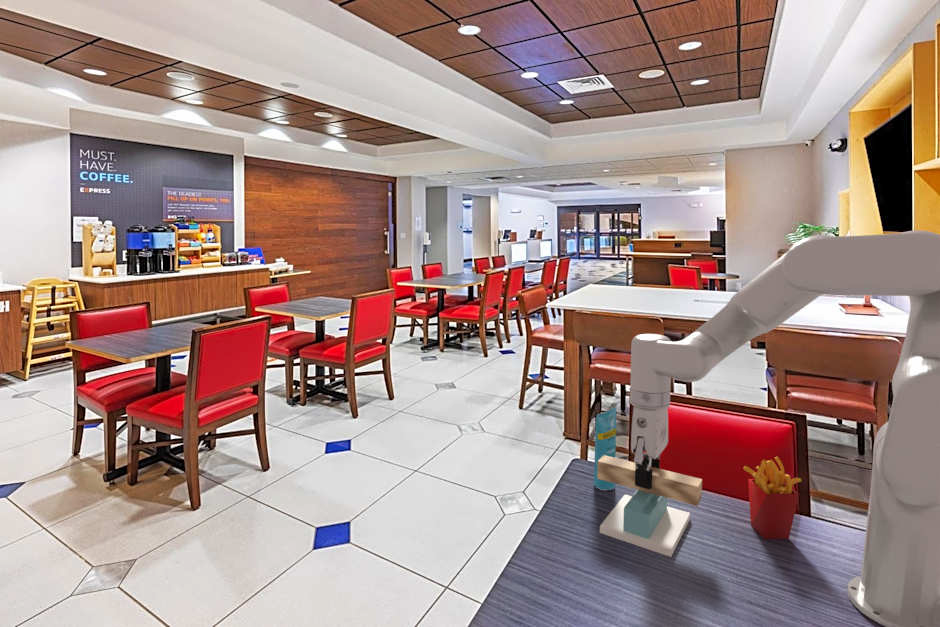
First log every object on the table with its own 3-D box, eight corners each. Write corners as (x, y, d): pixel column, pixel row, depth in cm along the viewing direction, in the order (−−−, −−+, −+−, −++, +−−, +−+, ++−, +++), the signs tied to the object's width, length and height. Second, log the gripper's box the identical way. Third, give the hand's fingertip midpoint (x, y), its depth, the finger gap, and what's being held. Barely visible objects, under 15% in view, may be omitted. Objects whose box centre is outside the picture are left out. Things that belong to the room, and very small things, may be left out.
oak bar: (701, 498, 99) (702, 479, 99) (697, 506, 96) (698, 486, 96) (603, 472, 111) (603, 455, 110) (597, 478, 108) (597, 461, 107)
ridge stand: (689, 519, 107) (691, 482, 106) (671, 557, 95) (672, 515, 94) (624, 500, 115) (625, 465, 114) (599, 532, 103) (600, 494, 102)
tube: (605, 496, 117) (606, 417, 114) (587, 488, 121) (588, 412, 118) (621, 484, 122) (623, 408, 119) (603, 477, 126) (605, 404, 123)
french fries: (796, 541, 99) (803, 469, 96) (754, 542, 99) (759, 470, 96) (770, 516, 107) (775, 449, 105) (731, 517, 107) (735, 450, 105)
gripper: (656, 412, 92) (653, 505, 94) (680, 388, 105) (677, 470, 108) (616, 405, 96) (614, 494, 99) (644, 382, 109) (641, 461, 112)
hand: (647, 480), depth 103 cm, fingers open, 4 cm apart
